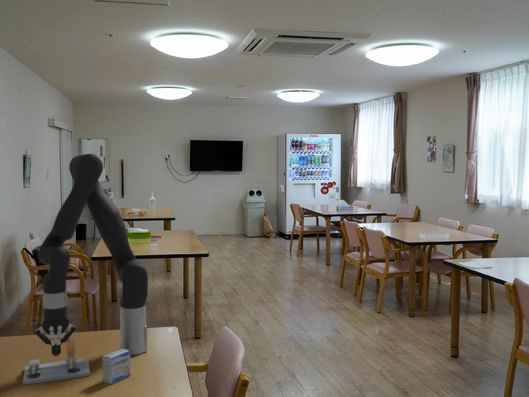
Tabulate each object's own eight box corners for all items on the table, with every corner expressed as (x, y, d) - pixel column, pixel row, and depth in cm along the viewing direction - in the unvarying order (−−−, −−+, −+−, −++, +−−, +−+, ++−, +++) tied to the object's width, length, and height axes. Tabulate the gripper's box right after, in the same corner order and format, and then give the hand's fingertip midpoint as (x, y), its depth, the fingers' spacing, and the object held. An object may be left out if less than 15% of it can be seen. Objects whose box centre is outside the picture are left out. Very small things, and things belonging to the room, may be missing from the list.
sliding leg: (75, 361, 175) (75, 336, 175) (76, 369, 169) (75, 343, 168) (66, 362, 174) (65, 337, 173) (66, 370, 168) (65, 344, 167)
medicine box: (111, 385, 162) (111, 358, 161) (102, 381, 164) (101, 355, 164) (130, 376, 169) (130, 350, 168) (121, 372, 171) (120, 347, 170)
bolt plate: (88, 361, 179) (88, 356, 179) (90, 375, 168) (89, 369, 168) (25, 369, 172) (25, 363, 172) (22, 384, 161) (22, 378, 161)
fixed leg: (39, 366, 171) (39, 359, 171) (38, 374, 165) (38, 367, 165) (29, 367, 170) (29, 360, 170) (28, 376, 164) (28, 368, 164)
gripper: (76, 299, 175) (77, 348, 177) (34, 303, 171) (35, 353, 172) (76, 305, 168) (77, 356, 170) (32, 309, 164) (33, 362, 165)
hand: (56, 355), depth 171 cm, fingers closed
